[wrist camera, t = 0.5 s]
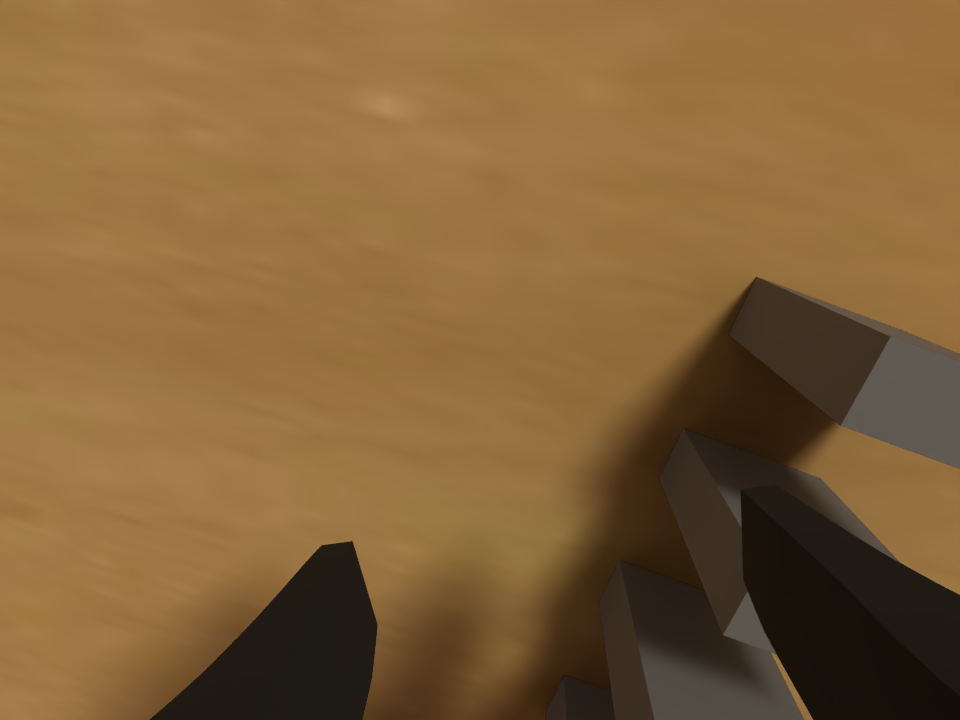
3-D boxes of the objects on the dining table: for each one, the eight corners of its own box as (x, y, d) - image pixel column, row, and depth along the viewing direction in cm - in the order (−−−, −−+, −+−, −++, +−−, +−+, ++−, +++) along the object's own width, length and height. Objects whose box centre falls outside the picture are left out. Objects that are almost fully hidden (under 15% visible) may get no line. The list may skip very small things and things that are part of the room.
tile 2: (723, 648, 24) (811, 869, 16) (598, 603, 24) (627, 804, 16) (747, 606, 23) (850, 814, 16) (619, 559, 23) (659, 746, 16)
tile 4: (872, 387, 21) (1067, 508, 13) (728, 334, 21) (840, 425, 13) (903, 330, 20) (1126, 423, 13) (756, 276, 20) (890, 336, 13)
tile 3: (792, 526, 22) (926, 707, 15) (658, 478, 22) (722, 635, 15) (820, 478, 22) (973, 640, 14) (683, 428, 22) (762, 564, 14)
